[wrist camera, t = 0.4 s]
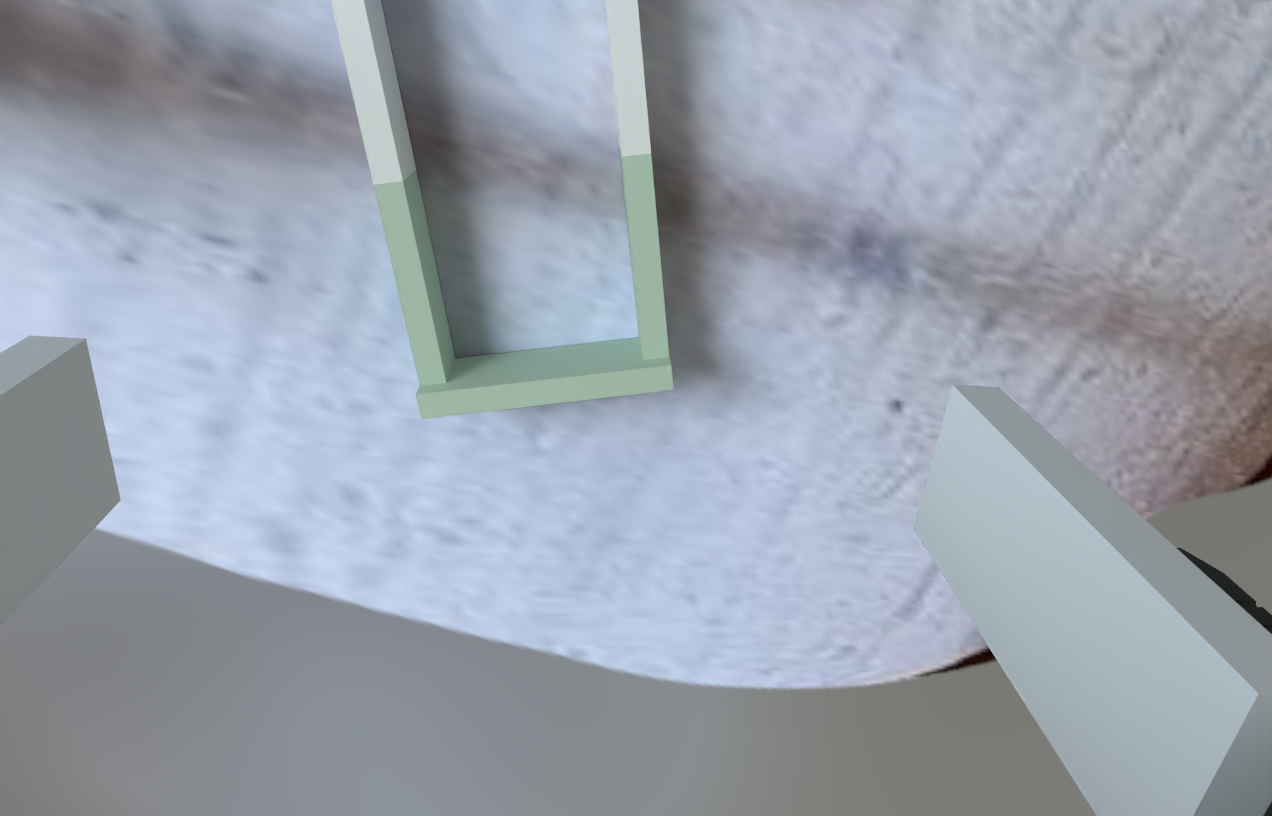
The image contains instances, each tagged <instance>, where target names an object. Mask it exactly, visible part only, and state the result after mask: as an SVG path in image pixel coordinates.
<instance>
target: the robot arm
mask: <svg viewBox="0 0 1272 816" xmlns="http://www.w3.org/2000/svg"><path fill="white" fill-rule="evenodd" d="M119 501H120V495H119V490H118V486H117V481H116V477H115V472H114V467H113V463H112V458H111V453H110V449H109V444H108V439H107V435H106V430H105V425H104V421H103V416H102V412H101V407H100V402H99V398H98V393H97V388H96V384H95V379H94V374H93V370H92V365H91V360H90V356H89V351H88V346H87V342H86V339H83V338H64V337H45V336H29V337H27V338H25V339H24V340H22V341H20V342H18V343H17V344H15V345H13V346H12V347H10V348H8V349H7V350H5V351H3V352H2V353H0V628H1V627H2V626H3V625H4V624H5V623H6V622H7V621H8V620H9V619H10V618H11V616H12V615H13V614H14V613H15V612H16V611H17V610H18V609H19V608H20V607H21V606H22V605H23V604H24V603H25V602H26V600H27V599H28V598H29V597H30V596H31V595H32V594H33V593H34V592H35V591H36V590H37V589H38V588H39V587H40V585H42V584H43V582H44V581H45V580H46V579H47V578H48V577H49V576H50V575H51V574H52V573H53V572H54V571H55V569H57V567H58V566H59V565H60V564H61V563H62V562H63V561H64V560H65V559H66V558H67V557H68V556H69V555H70V554H71V552H72V551H73V550H74V549H75V548H76V547H77V546H78V545H79V544H80V543H81V542H82V541H83V540H84V539H85V538H86V537H87V535H88V534H89V533H90V532H91V531H92V530H93V529H94V528H95V527H96V526H97V525H98V524H99V523H100V522H101V521H102V520H103V518H104V517H105V516H106V515H107V514H108V513H109V512H110V511H111V510H112V509H113V508H114V507H115V506H116V505H117V504H118V503H119ZM914 531H915V533H916V534H917V536H918V537H919V539H920V540H921V542H922V543H923V545H924V547H925V548H926V550H927V551H928V553H929V554H930V556H931V558H932V559H933V561H934V562H935V564H936V565H937V567H938V568H939V570H940V572H941V573H942V575H943V576H944V578H945V579H946V581H947V583H948V584H949V586H950V587H951V589H952V590H953V592H954V593H955V595H956V597H957V598H958V600H959V601H960V603H961V604H962V606H963V608H964V609H965V611H966V612H967V614H968V615H969V617H970V618H971V620H972V622H973V623H974V625H975V626H976V628H977V629H978V631H979V633H980V634H981V636H982V637H983V639H984V640H985V642H986V643H987V645H988V647H989V648H990V650H991V651H992V653H993V654H994V656H995V658H996V659H997V661H998V662H999V664H1000V665H1001V667H1002V668H1003V670H1004V671H1005V673H1006V675H1007V676H1008V678H1009V679H1010V681H1011V682H1012V684H1013V686H1014V687H1015V689H1016V690H1017V692H1018V693H1019V695H1020V696H1021V698H1022V700H1023V701H1024V703H1025V704H1026V706H1027V708H1028V709H1029V711H1030V712H1031V714H1032V715H1033V717H1034V718H1035V720H1036V722H1037V723H1038V725H1039V726H1040V728H1041V729H1042V731H1043V732H1044V734H1045V735H1046V737H1047V739H1048V740H1049V742H1050V743H1051V745H1052V746H1053V748H1054V750H1055V751H1056V753H1057V754H1058V756H1059V757H1060V759H1061V760H1062V762H1063V764H1064V765H1065V767H1066V768H1067V770H1068V772H1069V773H1070V775H1071V776H1072V778H1073V779H1074V781H1075V782H1076V784H1077V786H1078V787H1079V789H1080V790H1081V792H1082V793H1083V795H1084V797H1085V798H1086V800H1087V801H1088V803H1089V804H1090V806H1091V807H1092V809H1093V810H1094V812H1095V814H1096V815H1097V816H1272V615H1271V614H1270V613H1268V612H1267V611H1266V610H1265V609H1264V608H1263V607H1257V606H1256V601H1255V600H1254V599H1252V598H1251V597H1250V596H1249V595H1248V594H1247V593H1246V592H1245V591H1243V590H1242V589H1241V588H1240V587H1239V586H1238V585H1236V584H1235V583H1234V582H1233V581H1232V580H1231V579H1230V578H1229V577H1227V576H1226V575H1225V574H1224V573H1223V572H1221V571H1219V570H1217V569H1216V568H1214V567H1212V566H1211V565H1209V564H1207V563H1205V562H1204V561H1202V560H1200V559H1198V558H1197V557H1195V556H1193V555H1192V554H1190V553H1188V552H1186V551H1185V550H1183V549H1181V548H1176V547H1174V546H1173V545H1172V544H1171V543H1170V542H1169V541H1167V539H1166V538H1164V537H1163V536H1162V535H1161V534H1160V533H1159V532H1158V531H1156V529H1154V528H1153V527H1152V526H1151V525H1150V524H1149V523H1148V522H1147V521H1146V520H1145V519H1143V518H1142V517H1141V516H1140V515H1139V514H1138V513H1137V512H1136V511H1135V510H1134V509H1132V508H1131V507H1130V506H1129V505H1128V504H1127V503H1126V502H1125V501H1124V500H1122V499H1121V498H1120V497H1119V496H1118V495H1117V494H1116V493H1115V492H1114V491H1113V490H1111V489H1110V488H1109V487H1108V486H1107V485H1106V484H1105V483H1104V482H1103V481H1101V480H1100V479H1099V478H1098V477H1097V476H1096V475H1095V474H1094V473H1093V472H1092V471H1090V470H1089V469H1088V468H1087V467H1086V466H1085V465H1084V464H1083V463H1082V462H1080V461H1079V460H1078V459H1077V458H1076V457H1075V456H1074V455H1073V454H1072V453H1070V452H1069V451H1068V450H1067V449H1066V448H1065V447H1064V446H1063V445H1062V444H1061V443H1059V442H1058V441H1057V440H1056V439H1055V438H1054V437H1053V436H1052V435H1051V434H1049V433H1048V432H1047V431H1046V430H1045V429H1044V428H1043V427H1042V426H1041V425H1040V424H1038V423H1037V422H1036V421H1035V420H1034V419H1033V418H1032V417H1031V416H1030V415H1028V414H1027V413H1026V412H1025V411H1024V410H1023V409H1022V408H1021V407H1020V406H1019V405H1017V404H1016V403H1015V402H1014V401H1013V400H1012V399H1011V398H1010V397H1009V396H1007V395H1006V394H1005V393H1004V392H1003V391H1002V390H1001V389H1000V388H999V387H984V386H965V385H952V389H951V392H950V396H949V400H948V403H947V407H946V411H945V415H944V418H943V422H942V426H941V429H940V433H939V437H938V440H937V444H936V448H935V452H934V455H933V459H932V463H931V466H930V470H929V474H928V478H927V481H926V485H925V489H924V492H923V496H922V500H921V504H920V507H919V511H918V515H917V518H916V522H915V526H914Z"/></svg>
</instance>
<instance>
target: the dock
mask: <svg viewBox="0 0 1272 816" xmlns="http://www.w3.org/2000/svg"><path fill="white" fill-rule="evenodd" d="M331 3H332V7H333V12H334V16H335V20H336V25H337V29H338V33H339V38H340V42H341V46H342V51H343V55H344V59H345V64H346V68H347V72H348V77H349V81H350V85H351V89H352V94H353V98H354V102H355V107H356V111H357V115H358V120H359V124H360V128H361V133H362V137H363V141H364V146H365V150H366V154H367V159H368V163H369V167H370V172H371V176H372V180H373V185H374V189H375V193H376V198H377V202H378V206H379V211H380V215H381V219H382V224H383V228H384V232H385V237H386V241H387V245H388V250H389V254H390V258H391V263H392V267H393V271H394V276H395V280H396V284H397V289H398V293H399V297H400V302H401V306H402V310H403V314H404V319H405V323H406V327H407V332H408V336H409V340H410V345H411V349H412V353H413V358H414V362H415V366H416V371H417V375H418V379H419V384H420V387H419V389H418V391H417V393H416V397H417V401H418V406H419V410H420V414H421V418H422V419H425V418H434V417H442V416H451V415H460V414H468V413H477V412H486V411H494V410H503V409H512V408H520V407H529V406H537V405H546V404H555V403H563V402H572V401H581V400H589V399H598V398H607V397H615V396H624V395H633V394H641V393H650V392H659V391H667V390H674V389H673V377H672V366H671V362H670V358H669V348H668V337H667V325H666V314H665V303H664V292H663V280H662V269H661V258H660V247H659V235H658V224H657V213H656V202H655V190H654V179H653V168H652V157H651V145H650V134H649V123H648V112H647V101H646V89H645V78H644V67H643V56H642V44H641V33H640V22H639V11H638V0H604V7H605V17H606V26H607V36H608V45H609V55H610V64H611V74H612V84H613V93H614V103H615V112H616V122H617V131H618V141H619V150H620V160H621V170H622V179H623V189H624V198H625V208H626V217H627V227H628V237H629V246H630V256H631V265H632V275H633V284H634V294H635V303H636V313H637V323H638V332H639V337H637V338H629V339H620V340H611V341H603V342H594V343H585V344H576V345H568V346H559V347H550V348H542V349H533V350H524V351H515V352H507V353H498V354H489V355H481V356H472V357H463V358H455V354H454V349H453V344H452V339H451V335H450V330H449V325H448V320H447V315H446V311H445V306H444V301H443V296H442V291H441V287H440V282H439V277H438V272H437V267H436V262H435V258H434V253H433V248H432V243H431V238H430V234H429V229H428V224H427V219H426V214H425V210H424V205H423V200H422V195H421V190H420V186H419V181H418V176H417V171H416V166H415V161H414V157H413V152H412V147H411V142H410V137H409V133H408V128H407V123H406V118H405V113H404V109H403V104H402V99H401V94H400V89H399V85H398V80H397V75H396V70H395V65H394V60H393V56H392V51H391V46H390V41H389V36H388V32H387V27H386V22H385V17H384V12H383V8H382V3H381V0H331Z"/></svg>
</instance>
